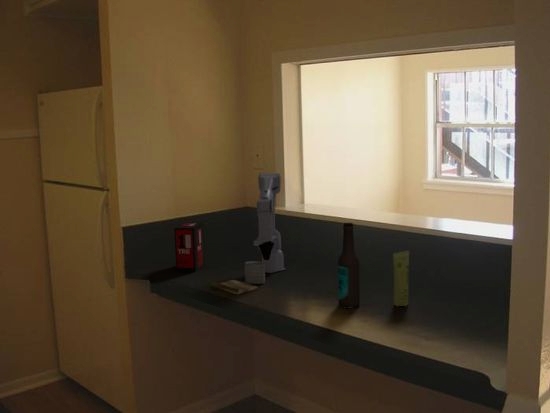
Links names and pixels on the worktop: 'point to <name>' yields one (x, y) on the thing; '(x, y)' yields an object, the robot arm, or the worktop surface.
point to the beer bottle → (348, 271)
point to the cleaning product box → (189, 246)
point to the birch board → (234, 286)
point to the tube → (401, 278)
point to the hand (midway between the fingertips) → (266, 259)
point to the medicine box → (255, 272)
